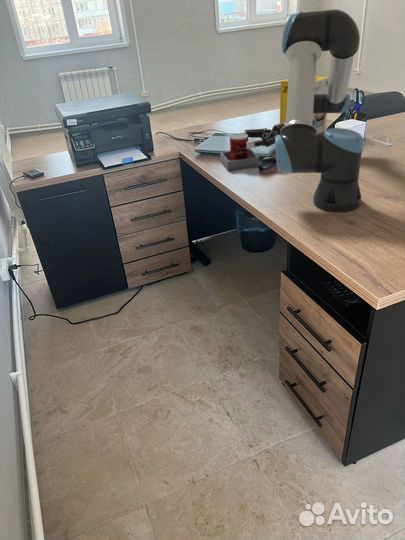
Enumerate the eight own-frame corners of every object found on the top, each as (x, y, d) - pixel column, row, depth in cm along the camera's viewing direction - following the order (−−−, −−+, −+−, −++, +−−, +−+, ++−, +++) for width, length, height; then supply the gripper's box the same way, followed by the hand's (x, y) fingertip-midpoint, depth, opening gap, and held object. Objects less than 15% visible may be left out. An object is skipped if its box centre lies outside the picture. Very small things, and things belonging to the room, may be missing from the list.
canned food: (238, 157, 177) (237, 132, 171) (252, 160, 172) (252, 134, 166) (226, 162, 173) (225, 136, 167) (240, 166, 168) (240, 139, 162)
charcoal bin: (259, 166, 168) (259, 157, 166) (228, 171, 166) (227, 162, 164) (250, 157, 179) (249, 148, 177) (220, 161, 178) (220, 152, 175)
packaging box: (305, 138, 194) (308, 83, 181) (279, 134, 205) (280, 81, 191) (325, 130, 203) (329, 77, 189) (299, 126, 213) (301, 75, 199)
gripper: (299, 148, 165) (253, 158, 160) (269, 134, 185) (227, 143, 180) (300, 129, 161) (253, 139, 156) (269, 117, 181) (226, 126, 176)
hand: (239, 141), depth 168 cm, fingers open, 13 cm apart
